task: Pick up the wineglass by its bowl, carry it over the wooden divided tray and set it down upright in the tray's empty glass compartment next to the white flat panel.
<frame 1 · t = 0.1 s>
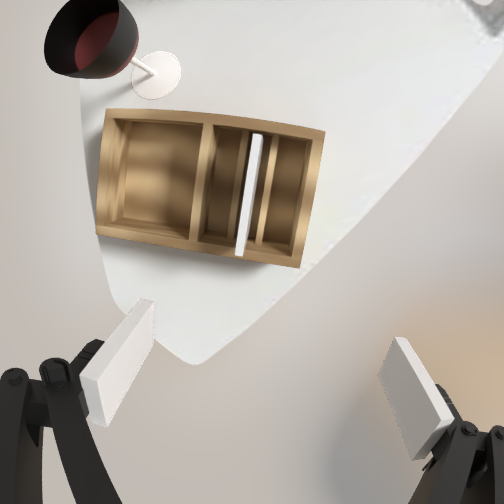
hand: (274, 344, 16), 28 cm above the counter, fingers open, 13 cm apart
wineglass: (155, 74, 37), on the counter
wooden divided tray: (209, 178, 41), on the counter
white flat panel: (253, 185, 41), resting on wooden divided tray
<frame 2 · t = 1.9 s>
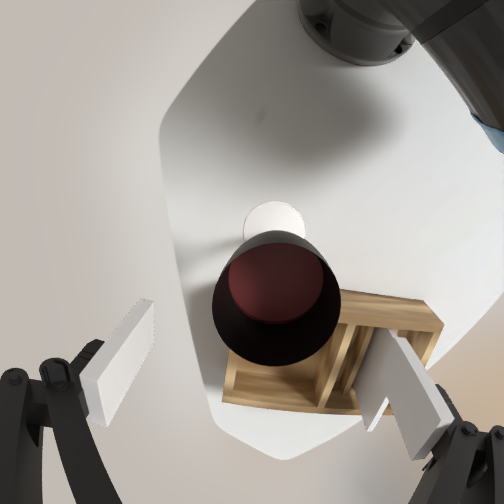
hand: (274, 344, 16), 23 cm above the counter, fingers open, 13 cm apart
wineglass: (274, 231, 38), on the counter
wooden divided tray: (326, 339, 42), on the counter
white flat panel: (364, 343, 42), resting on wooden divided tray
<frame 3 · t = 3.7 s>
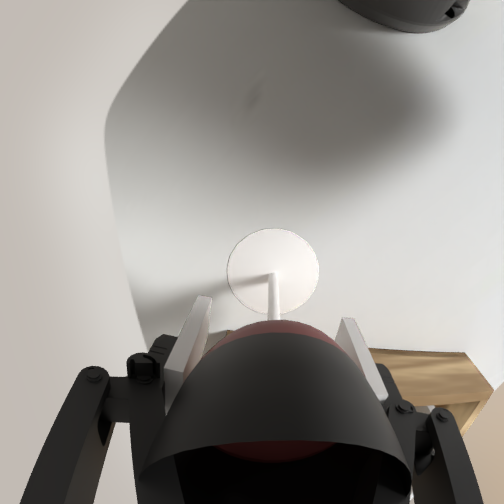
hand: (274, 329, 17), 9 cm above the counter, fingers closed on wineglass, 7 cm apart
wineglass: (273, 272, 26), on the counter, touching gripper
wooden divided tray: (340, 406, 30), on the counter
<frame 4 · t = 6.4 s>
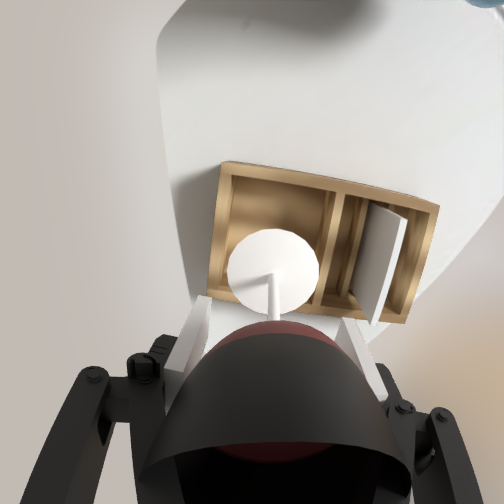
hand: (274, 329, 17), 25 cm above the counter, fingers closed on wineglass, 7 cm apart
wineglass: (273, 273, 26), point 17 cm above the counter, touching gripper
wooden divided tray: (318, 235, 41), on the counter
white flat panel: (359, 243, 41), resting on wooden divided tray
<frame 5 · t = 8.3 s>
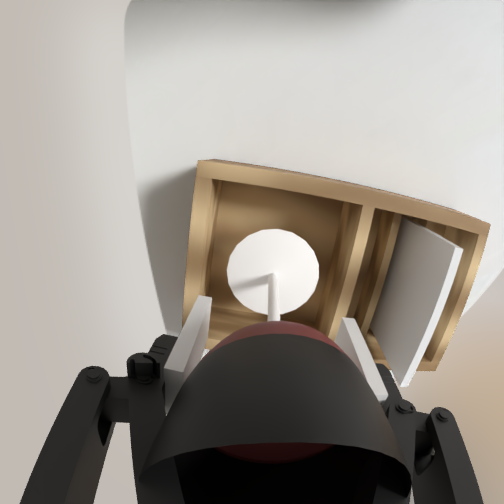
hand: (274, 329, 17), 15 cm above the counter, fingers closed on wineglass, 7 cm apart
wineglass: (273, 273, 26), point 6 cm above the counter, touching gripper
wooden divided tray: (331, 259, 31), on the counter
white flat panel: (383, 268, 31), resting on wooden divided tray
when the fingers open (11 cm above the counter, at t = 9.5 s): wineglass drops 1 cm, resting on wooden divided tray.
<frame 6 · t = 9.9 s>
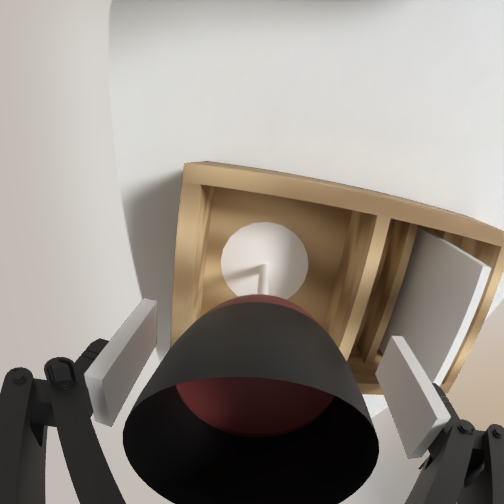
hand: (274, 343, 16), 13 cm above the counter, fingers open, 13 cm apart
wineglass: (264, 264, 27), point 1 cm above the counter, touching wooden divided tray
wooden divided tray: (337, 273, 28), on the counter
white flat panel: (394, 282, 28), resting on wooden divided tray
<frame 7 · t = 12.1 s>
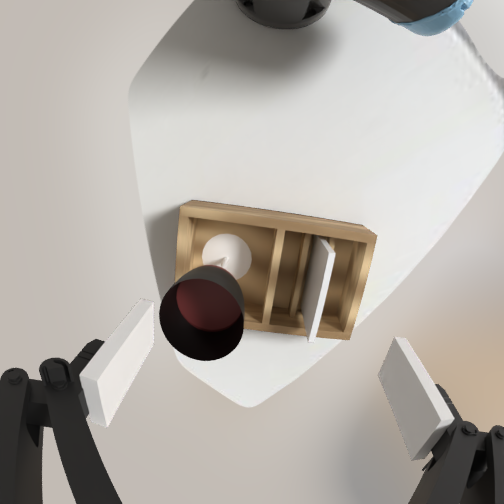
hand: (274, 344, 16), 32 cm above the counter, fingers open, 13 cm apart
wineglass: (226, 257, 47), point 1 cm above the counter, touching wooden divided tray
wooden divided tray: (271, 262, 48), on the counter
white flat panel: (309, 268, 48), resting on wooden divided tray
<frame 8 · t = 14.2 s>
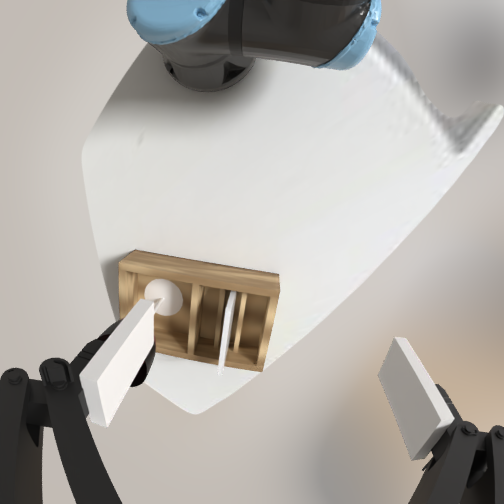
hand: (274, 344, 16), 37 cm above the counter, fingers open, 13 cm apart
wineglass: (163, 297, 55), point 1 cm above the counter, touching wooden divided tray
wooden divided tray: (200, 302, 56), on the counter
white flat panel: (232, 308, 56), resting on wooden divided tray
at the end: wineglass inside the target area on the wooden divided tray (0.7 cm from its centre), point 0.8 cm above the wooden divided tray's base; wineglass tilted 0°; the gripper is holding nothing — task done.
